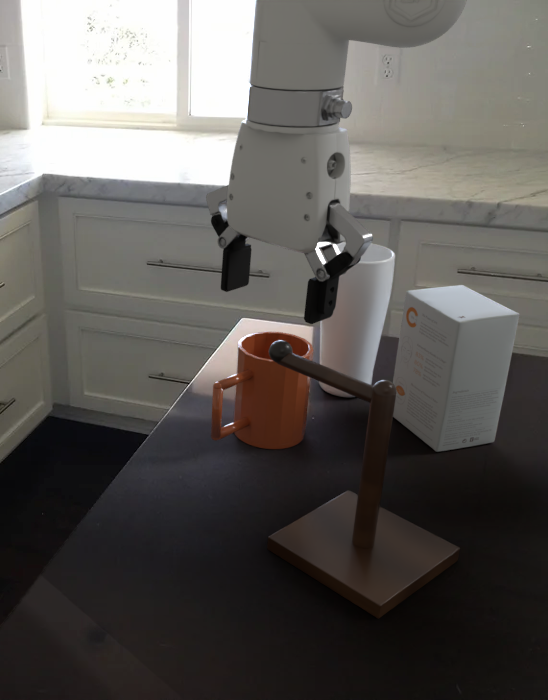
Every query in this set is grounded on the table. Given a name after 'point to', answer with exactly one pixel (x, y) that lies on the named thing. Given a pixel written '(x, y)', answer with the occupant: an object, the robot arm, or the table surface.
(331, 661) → the table surface
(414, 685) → the table surface
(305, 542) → the mug stand
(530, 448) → the table surface
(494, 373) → the small box
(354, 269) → the drinking glass
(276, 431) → the mug
